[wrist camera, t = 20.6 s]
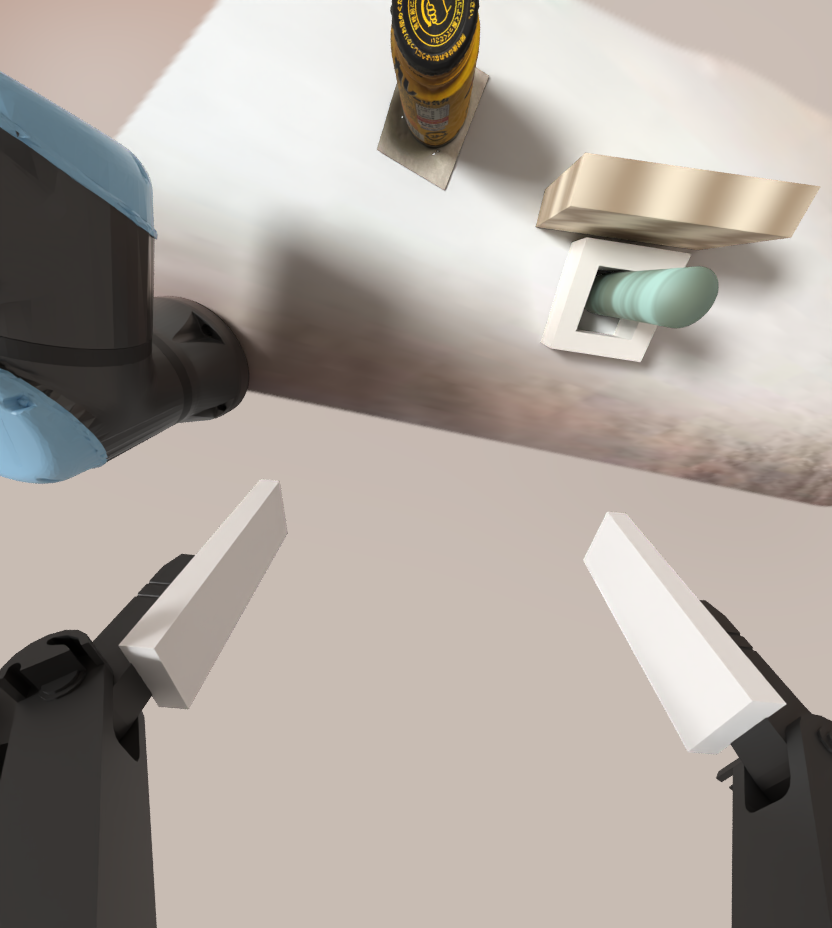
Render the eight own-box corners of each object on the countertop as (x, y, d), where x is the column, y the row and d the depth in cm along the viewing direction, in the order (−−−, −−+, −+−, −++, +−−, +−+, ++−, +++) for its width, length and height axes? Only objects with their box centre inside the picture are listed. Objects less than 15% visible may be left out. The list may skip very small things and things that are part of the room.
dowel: (577, 311, 36) (646, 324, 24) (591, 270, 34) (673, 262, 22) (612, 316, 36) (698, 331, 24) (627, 275, 34) (730, 270, 22)
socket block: (540, 342, 38) (550, 348, 35) (571, 242, 33) (587, 237, 30) (622, 355, 38) (640, 362, 35) (665, 256, 33) (691, 253, 30)
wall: (535, 226, 33) (570, 205, 24) (545, 189, 31) (585, 152, 23) (698, 250, 33) (791, 237, 24) (715, 213, 31) (820, 186, 23)
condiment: (488, 77, 28) (517, -47, 18) (444, 190, 32) (446, 144, 22) (413, 26, 27) (397, -138, 16) (377, 150, 31) (345, 82, 20)
